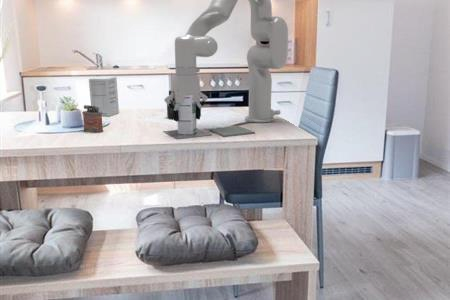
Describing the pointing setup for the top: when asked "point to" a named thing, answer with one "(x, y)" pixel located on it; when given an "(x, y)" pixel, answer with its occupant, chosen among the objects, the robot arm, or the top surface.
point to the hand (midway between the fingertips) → (186, 119)
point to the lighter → (92, 119)
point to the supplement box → (104, 95)
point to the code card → (181, 136)
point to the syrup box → (187, 116)
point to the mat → (231, 131)
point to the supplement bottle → (169, 109)
